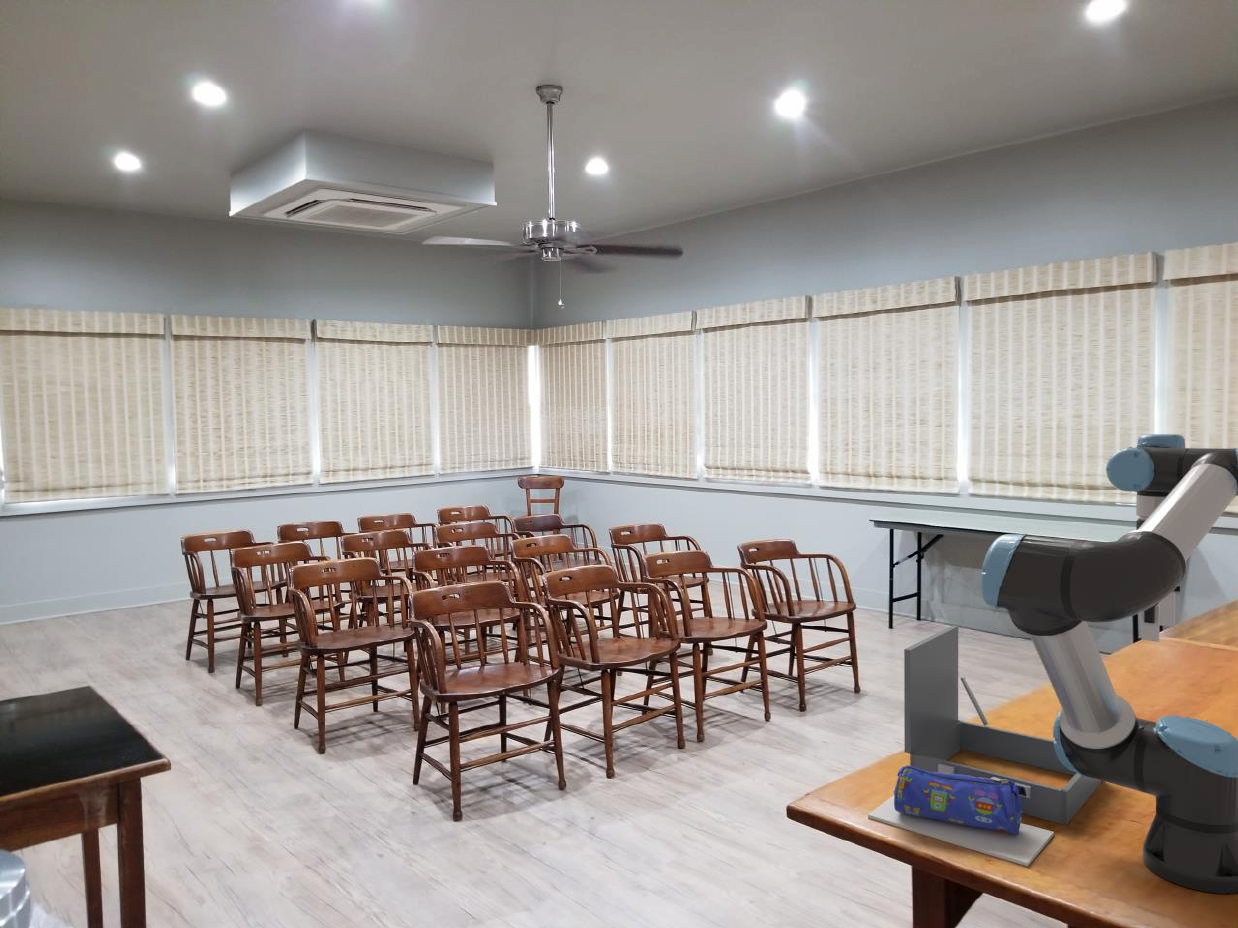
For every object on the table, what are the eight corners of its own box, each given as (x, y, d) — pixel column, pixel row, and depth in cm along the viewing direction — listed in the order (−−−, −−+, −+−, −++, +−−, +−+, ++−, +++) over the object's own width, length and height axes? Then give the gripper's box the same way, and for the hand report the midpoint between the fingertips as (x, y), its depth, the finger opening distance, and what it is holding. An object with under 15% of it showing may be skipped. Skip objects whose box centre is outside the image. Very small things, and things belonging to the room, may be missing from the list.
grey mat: (1027, 866, 147) (1027, 862, 147) (868, 817, 165) (868, 814, 165) (1053, 835, 157) (1053, 831, 157) (900, 792, 176) (900, 789, 176)
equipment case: (1064, 826, 160) (1066, 677, 159) (902, 782, 180) (902, 649, 179) (1102, 780, 180) (1104, 647, 178) (952, 745, 200) (952, 625, 198)
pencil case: (1026, 824, 160) (1026, 772, 159) (1023, 846, 152) (1023, 790, 152) (899, 802, 170) (898, 752, 170) (890, 820, 163) (889, 769, 162)
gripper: (1169, 527, 153) (1167, 650, 154) (1196, 512, 171) (1194, 622, 173) (1120, 524, 158) (1118, 643, 159) (1151, 510, 176) (1150, 617, 178)
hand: (1158, 632), depth 166 cm, fingers open, 13 cm apart
